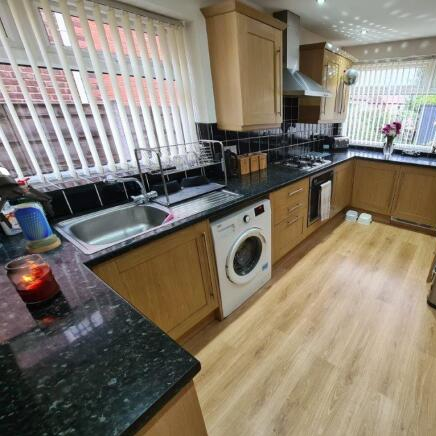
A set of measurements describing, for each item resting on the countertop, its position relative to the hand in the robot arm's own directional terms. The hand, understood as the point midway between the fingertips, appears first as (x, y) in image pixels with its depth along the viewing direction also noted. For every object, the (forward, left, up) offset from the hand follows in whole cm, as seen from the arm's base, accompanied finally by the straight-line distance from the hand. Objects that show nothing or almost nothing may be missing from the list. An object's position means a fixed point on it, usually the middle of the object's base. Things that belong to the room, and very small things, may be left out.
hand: (33, 220), depth 103 cm
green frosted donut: (-2, +1, -13) cm, 14 cm away
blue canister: (-2, +1, -10) cm, 10 cm away
